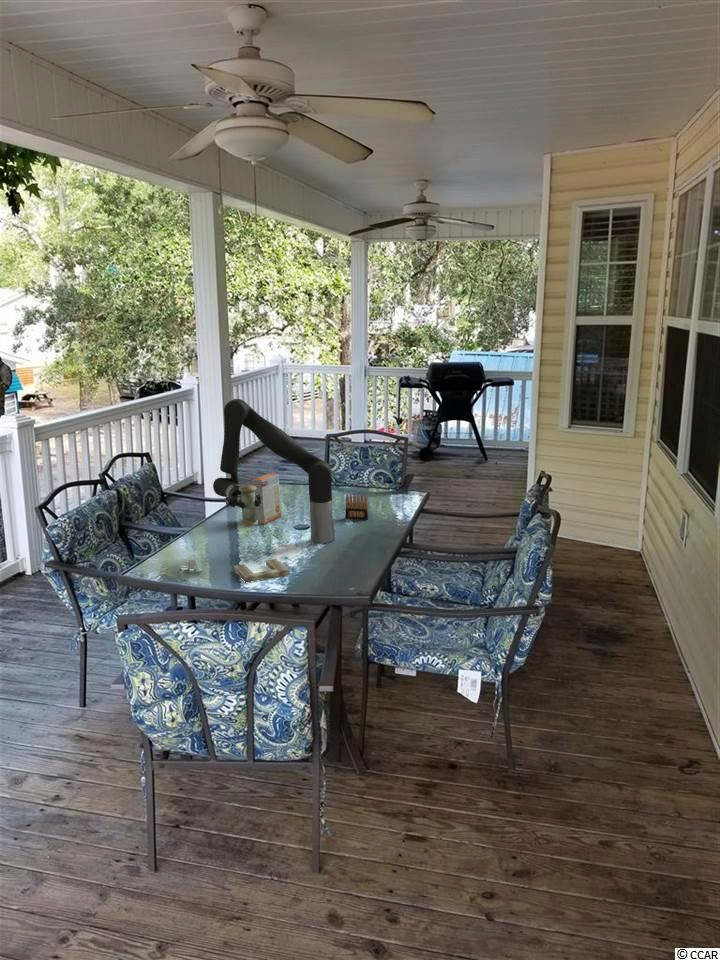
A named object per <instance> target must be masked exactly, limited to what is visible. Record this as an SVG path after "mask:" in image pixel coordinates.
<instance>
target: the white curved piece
mask: <svg viewBox="0 0 720 960" xmlns="http://www.w3.org/2000/svg"><path fill="white" fill-rule="evenodd" d="M183 566H186V567H183ZM197 567H199V565H198V563H197V560H195V559H188V560H187V563H186V564H184V563H183V564H181V565H180V566H179V569H180V568H188V569H196V570H197V569H198V568H197Z"/></svg>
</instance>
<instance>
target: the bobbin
mask: <svg viewBox="0 0 720 960" xmlns="http://www.w3.org/2000/svg"><path fill="white" fill-rule="evenodd" d="M241 486H242V487H239V491H241V501H242V502H243V503H244V508H243V509H242V508H241V513H242V514H241V517H242V519H241V521H240V525H241V526H242V527H254V526H255V527H256V526H258V525H259V524H258V521H257V520H256V508H255V490H256V486H252V485H241Z"/></svg>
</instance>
